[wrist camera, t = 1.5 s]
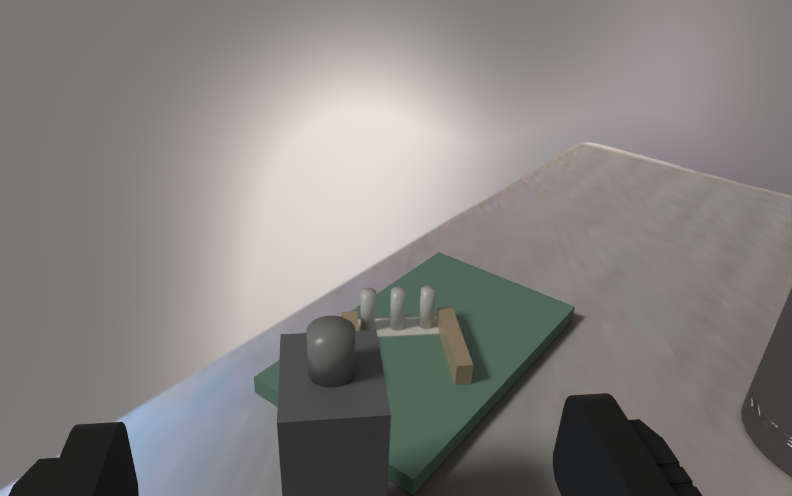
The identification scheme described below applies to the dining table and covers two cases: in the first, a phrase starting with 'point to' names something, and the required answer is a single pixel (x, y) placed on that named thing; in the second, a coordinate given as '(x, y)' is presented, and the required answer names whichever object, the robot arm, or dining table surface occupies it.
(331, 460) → the block
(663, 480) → the robot arm
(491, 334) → the board
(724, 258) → the dining table surface
